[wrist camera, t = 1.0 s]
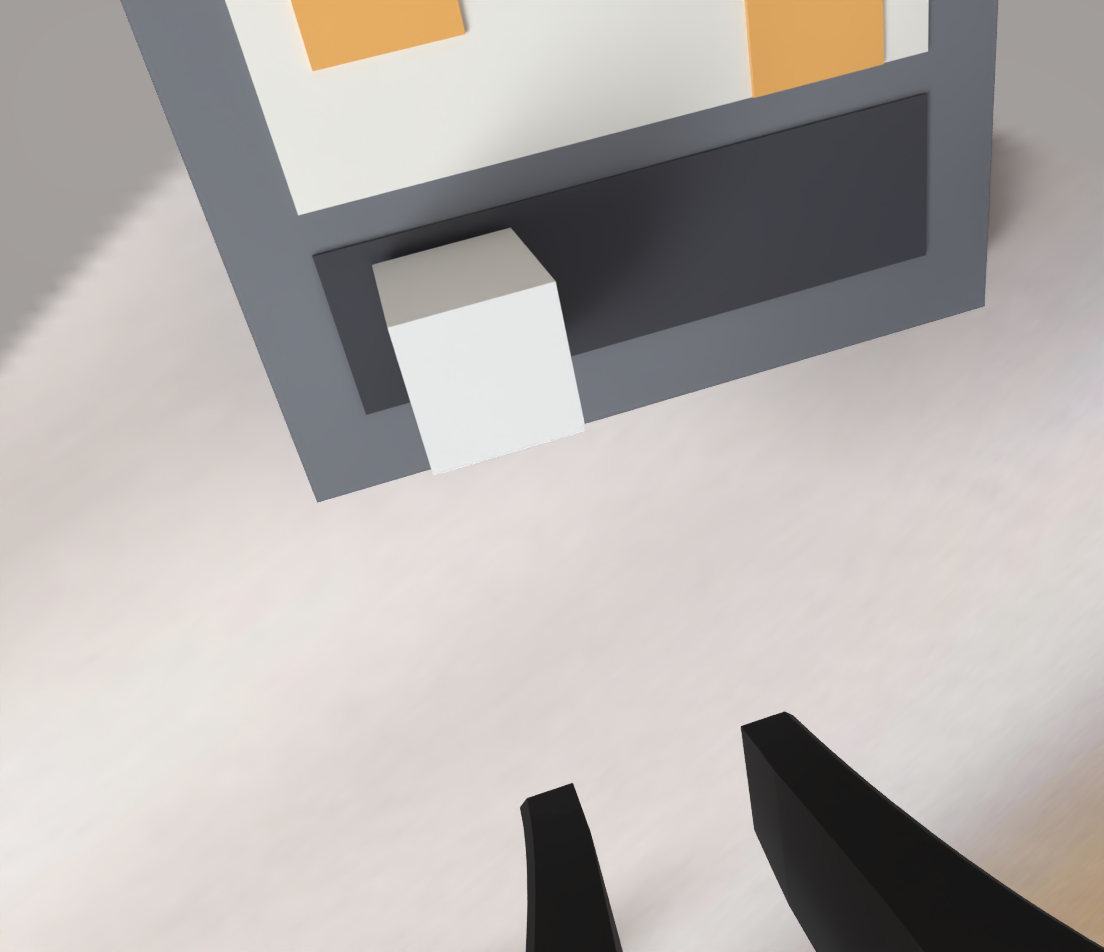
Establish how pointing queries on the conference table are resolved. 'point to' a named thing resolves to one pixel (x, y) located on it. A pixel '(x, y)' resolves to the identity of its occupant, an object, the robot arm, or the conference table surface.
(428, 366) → the switch
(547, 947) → the robot arm
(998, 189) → the conference table surface
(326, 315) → the dip bank
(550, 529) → the conference table surface
